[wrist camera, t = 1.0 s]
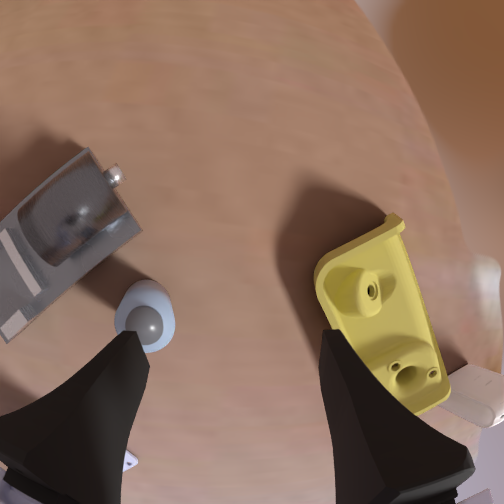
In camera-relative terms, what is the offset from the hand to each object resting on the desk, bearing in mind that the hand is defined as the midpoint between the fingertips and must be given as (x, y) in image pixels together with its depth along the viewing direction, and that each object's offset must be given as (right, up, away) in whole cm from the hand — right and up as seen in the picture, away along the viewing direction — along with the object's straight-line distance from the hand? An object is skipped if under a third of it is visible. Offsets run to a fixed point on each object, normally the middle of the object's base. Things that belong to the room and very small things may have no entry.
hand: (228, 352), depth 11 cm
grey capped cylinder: (-7, 0, +10) cm, 13 cm away
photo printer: (+31, -16, +23) cm, 42 cm away
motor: (-14, +4, +8) cm, 17 cm away
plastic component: (+13, -3, +17) cm, 22 cm away
